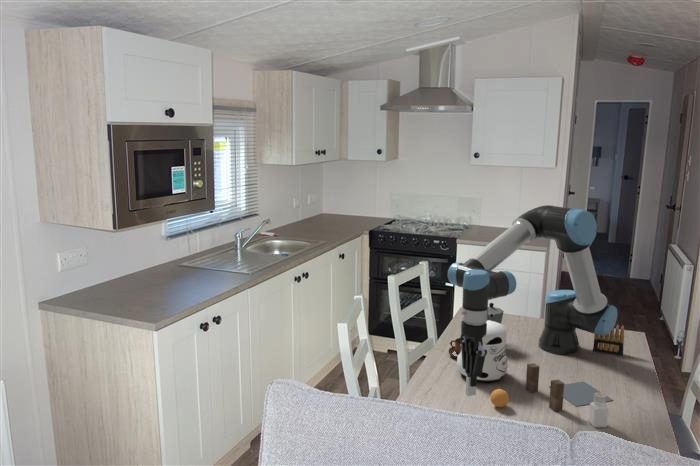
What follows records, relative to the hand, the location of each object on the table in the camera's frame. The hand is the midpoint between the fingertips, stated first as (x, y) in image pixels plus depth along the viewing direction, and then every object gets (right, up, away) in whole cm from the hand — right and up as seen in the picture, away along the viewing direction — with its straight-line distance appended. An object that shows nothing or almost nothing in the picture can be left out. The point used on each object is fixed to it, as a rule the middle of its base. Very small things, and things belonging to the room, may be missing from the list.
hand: (470, 394), depth 173 cm
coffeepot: (+19, +4, +54) cm, 57 cm away
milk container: (+10, -1, +26) cm, 28 cm away
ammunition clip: (+63, +3, +46) cm, 78 cm away
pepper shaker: (+36, -7, -7) cm, 37 cm away
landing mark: (+39, -3, +12) cm, 41 cm away
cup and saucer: (+7, +2, +43) cm, 44 cm away
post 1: (+23, -3, +14) cm, 28 cm away
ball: (+10, -2, +3) cm, 11 cm away
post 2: (+27, -5, +2) cm, 28 cm away
